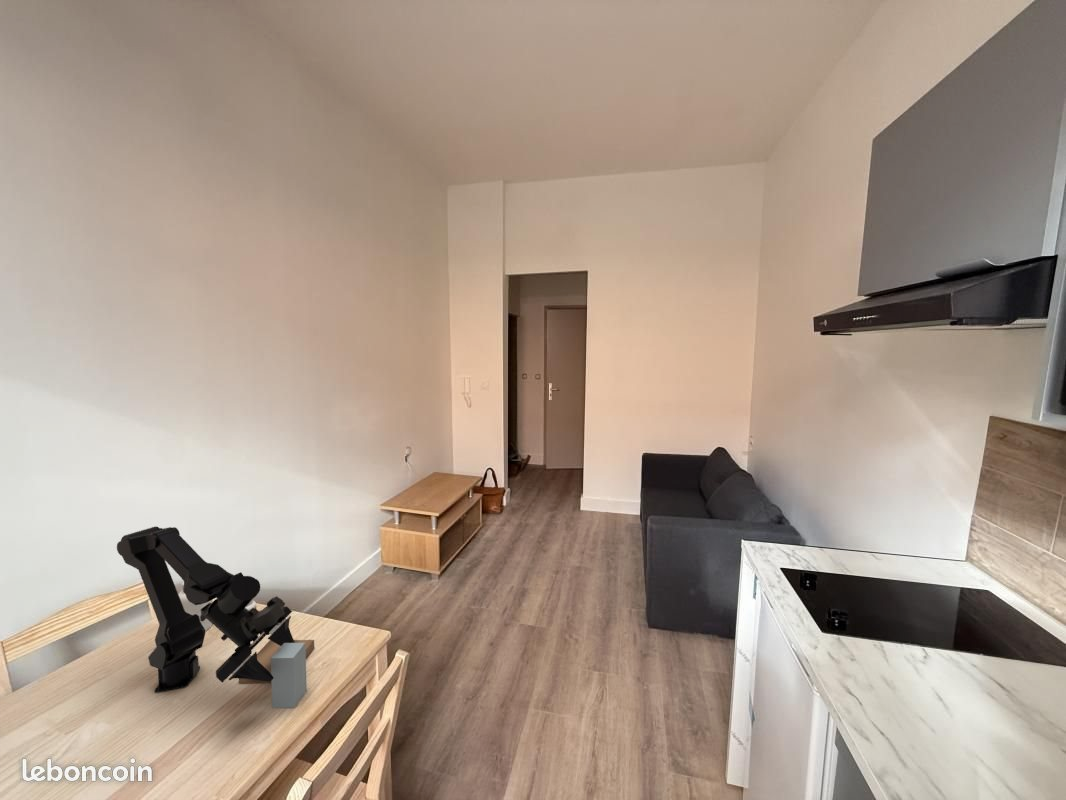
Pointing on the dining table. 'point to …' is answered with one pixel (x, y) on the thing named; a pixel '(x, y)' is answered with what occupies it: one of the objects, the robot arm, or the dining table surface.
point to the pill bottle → (194, 608)
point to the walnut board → (270, 650)
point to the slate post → (288, 675)
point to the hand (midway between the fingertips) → (284, 664)
